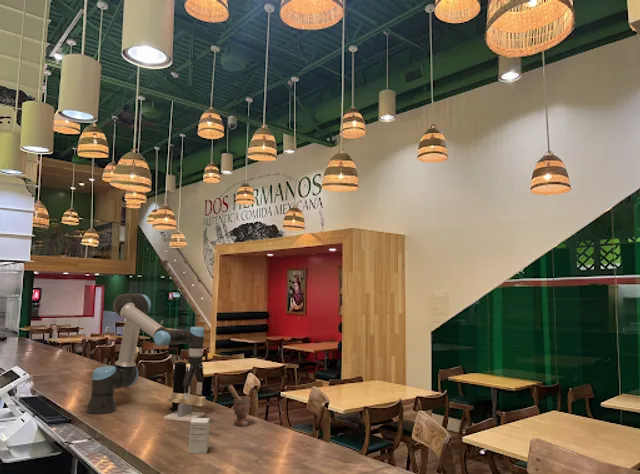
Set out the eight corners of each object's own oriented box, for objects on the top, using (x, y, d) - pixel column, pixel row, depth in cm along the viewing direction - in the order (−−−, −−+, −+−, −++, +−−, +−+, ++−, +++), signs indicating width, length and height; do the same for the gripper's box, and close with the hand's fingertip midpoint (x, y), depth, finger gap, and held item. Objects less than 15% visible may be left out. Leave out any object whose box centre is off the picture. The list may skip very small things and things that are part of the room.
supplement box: (191, 448, 212) (192, 417, 213) (208, 448, 212) (210, 417, 214) (187, 453, 204) (189, 422, 206) (206, 453, 205) (207, 422, 206)
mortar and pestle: (233, 428, 244) (234, 386, 246) (223, 425, 250) (225, 384, 252) (252, 425, 251) (254, 384, 254) (243, 421, 258) (245, 382, 260)
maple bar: (167, 401, 265) (168, 393, 266) (171, 399, 269) (172, 392, 270) (201, 406, 260) (202, 398, 261) (204, 404, 264) (205, 396, 265)
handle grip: (165, 410, 277) (182, 411, 275) (168, 362, 280) (184, 363, 278) (174, 406, 287) (190, 407, 285) (176, 360, 290) (192, 360, 288)
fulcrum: (164, 418, 259) (164, 404, 260) (177, 412, 272) (178, 399, 273) (192, 421, 255) (192, 407, 256) (204, 415, 269) (204, 401, 270)
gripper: (191, 359, 254) (188, 402, 251) (212, 354, 278) (209, 392, 276) (177, 358, 255) (174, 400, 253) (199, 353, 280) (197, 391, 277)
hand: (192, 396), depth 264 cm, fingers open, 13 cm apart
